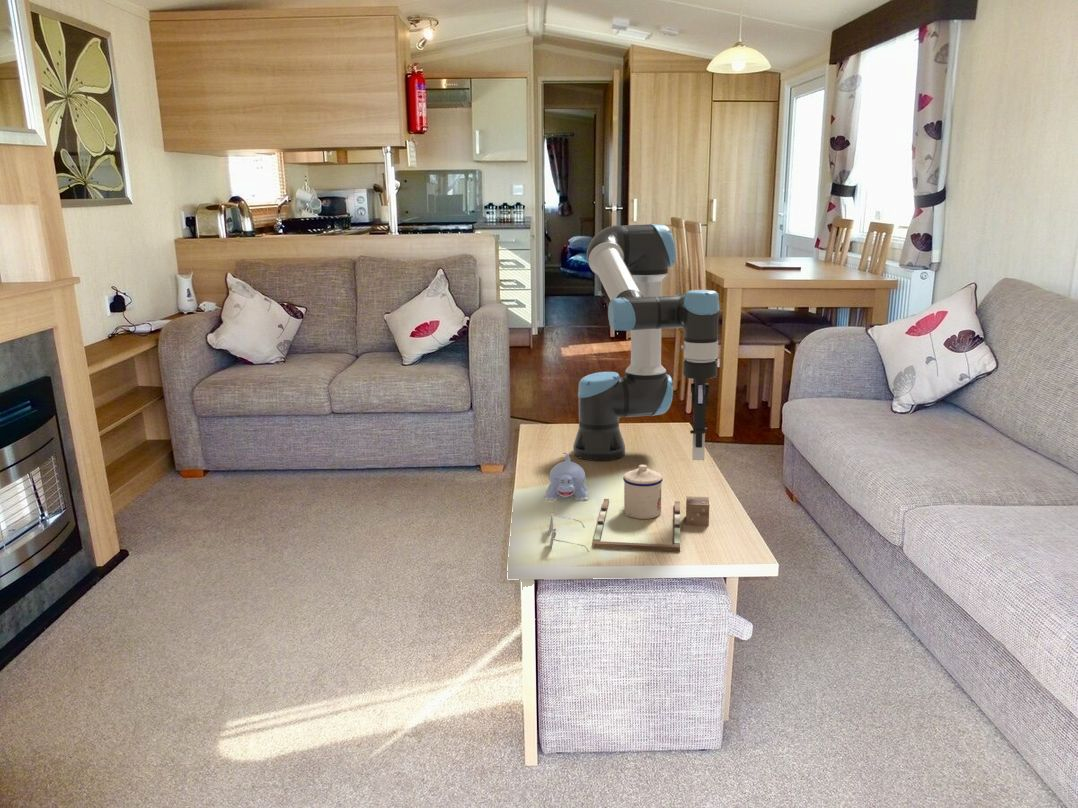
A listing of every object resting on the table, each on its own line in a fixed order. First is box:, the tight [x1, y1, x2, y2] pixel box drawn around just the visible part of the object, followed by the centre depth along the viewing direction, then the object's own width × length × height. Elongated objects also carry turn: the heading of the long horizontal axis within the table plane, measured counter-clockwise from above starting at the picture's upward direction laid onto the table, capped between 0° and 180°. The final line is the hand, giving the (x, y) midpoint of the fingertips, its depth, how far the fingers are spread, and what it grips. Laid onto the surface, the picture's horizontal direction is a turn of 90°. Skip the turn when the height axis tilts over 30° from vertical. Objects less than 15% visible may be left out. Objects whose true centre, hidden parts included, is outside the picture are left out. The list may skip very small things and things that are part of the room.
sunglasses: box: [548, 512, 590, 553], centre depth 173 cm, size 14×8×5 cm, turn 1°
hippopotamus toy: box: [544, 452, 589, 502], centre depth 196 cm, size 11×15×10 cm
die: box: [685, 495, 710, 527], centre depth 181 cm, size 5×5×5 cm
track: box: [592, 498, 681, 553], centre depth 180 cm, size 26×18×2 cm
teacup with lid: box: [622, 464, 663, 520], centre depth 187 cm, size 12×9×12 cm
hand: (698, 459), depth 185 cm, fingers closed
